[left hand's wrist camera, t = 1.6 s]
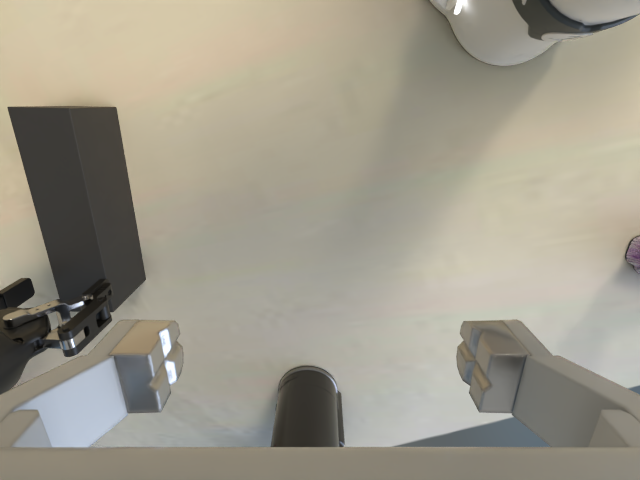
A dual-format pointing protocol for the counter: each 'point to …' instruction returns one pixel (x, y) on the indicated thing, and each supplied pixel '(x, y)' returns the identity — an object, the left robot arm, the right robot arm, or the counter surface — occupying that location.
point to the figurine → (634, 254)
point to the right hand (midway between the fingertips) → (68, 285)
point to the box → (81, 197)
